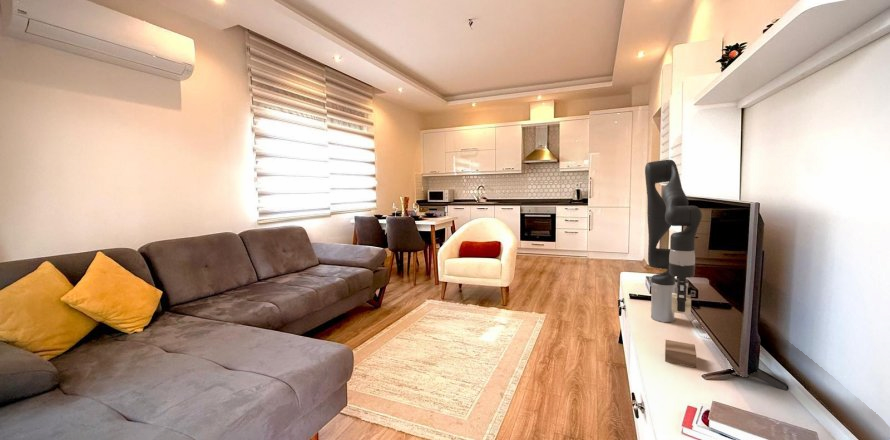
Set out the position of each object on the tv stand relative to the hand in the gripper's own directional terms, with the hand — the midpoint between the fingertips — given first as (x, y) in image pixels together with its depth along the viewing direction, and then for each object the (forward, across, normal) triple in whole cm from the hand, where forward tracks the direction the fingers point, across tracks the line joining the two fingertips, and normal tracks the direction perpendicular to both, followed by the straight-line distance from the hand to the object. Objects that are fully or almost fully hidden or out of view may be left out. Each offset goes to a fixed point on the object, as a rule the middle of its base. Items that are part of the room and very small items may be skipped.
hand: (680, 308), depth 123 cm
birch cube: (+1, 0, 0) cm, 1 cm away
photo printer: (+19, 0, +16) cm, 25 cm away
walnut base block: (+19, 0, 0) cm, 19 cm away
